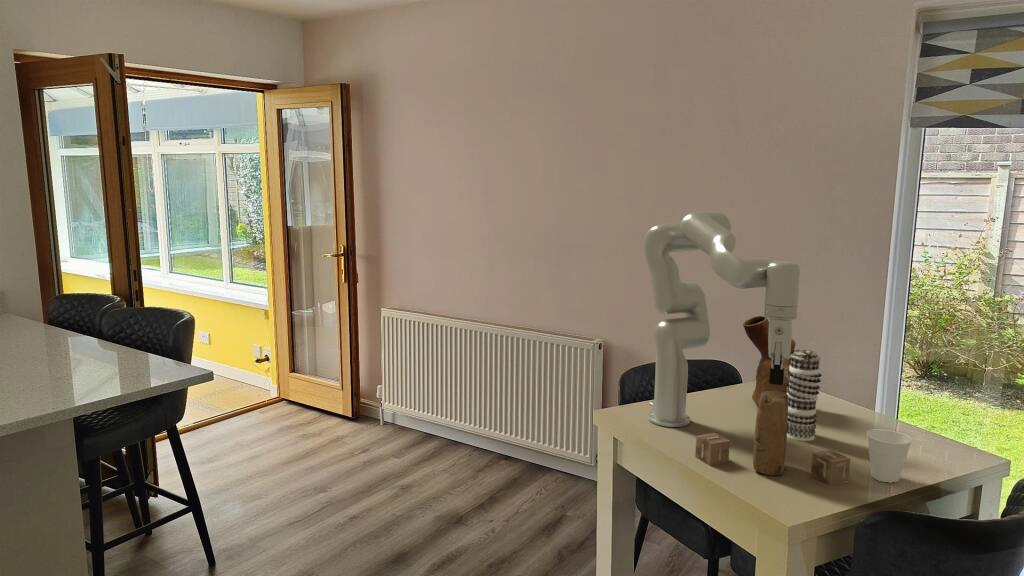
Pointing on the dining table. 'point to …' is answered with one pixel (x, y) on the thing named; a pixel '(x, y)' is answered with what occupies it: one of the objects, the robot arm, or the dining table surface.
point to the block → (771, 433)
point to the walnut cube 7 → (830, 467)
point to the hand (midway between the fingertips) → (776, 383)
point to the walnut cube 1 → (712, 449)
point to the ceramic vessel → (764, 356)
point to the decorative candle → (802, 394)
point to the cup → (887, 454)
